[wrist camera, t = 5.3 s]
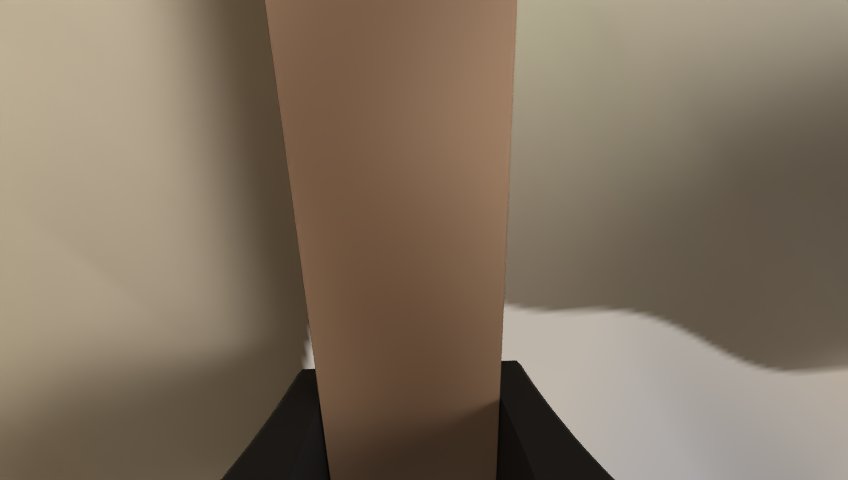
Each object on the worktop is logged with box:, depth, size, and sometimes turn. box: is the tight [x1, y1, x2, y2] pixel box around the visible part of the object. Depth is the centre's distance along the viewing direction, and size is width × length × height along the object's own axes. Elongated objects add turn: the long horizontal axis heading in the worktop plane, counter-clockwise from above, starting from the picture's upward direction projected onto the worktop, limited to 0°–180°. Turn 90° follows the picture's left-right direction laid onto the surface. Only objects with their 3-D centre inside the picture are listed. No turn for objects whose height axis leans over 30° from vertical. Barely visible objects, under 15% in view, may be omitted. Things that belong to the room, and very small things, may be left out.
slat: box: [265, 0, 517, 480], centre depth 12 cm, size 3×16×4 cm, turn 1°
